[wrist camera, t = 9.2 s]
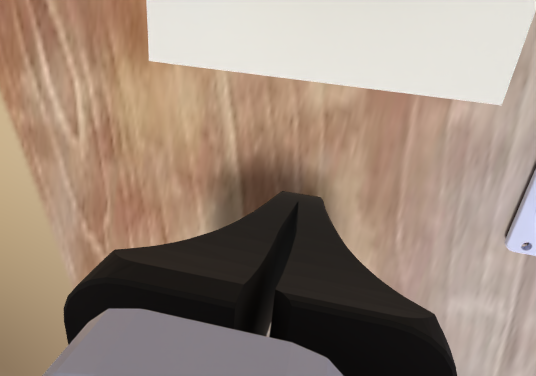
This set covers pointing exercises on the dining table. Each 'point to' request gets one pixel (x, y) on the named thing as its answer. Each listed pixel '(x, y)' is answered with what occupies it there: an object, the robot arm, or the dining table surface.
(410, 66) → the base
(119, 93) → the dining table surface
